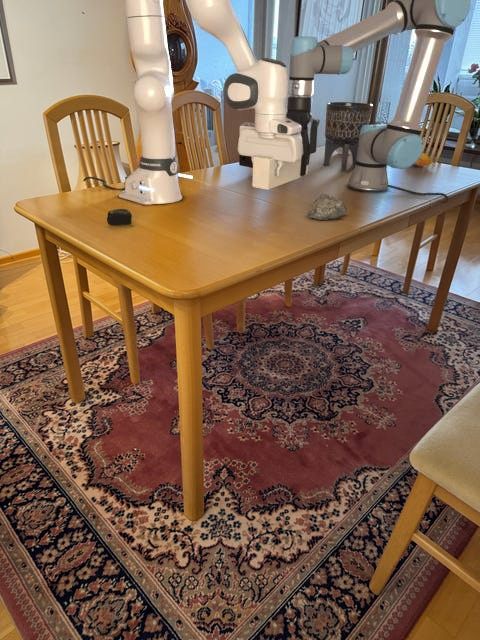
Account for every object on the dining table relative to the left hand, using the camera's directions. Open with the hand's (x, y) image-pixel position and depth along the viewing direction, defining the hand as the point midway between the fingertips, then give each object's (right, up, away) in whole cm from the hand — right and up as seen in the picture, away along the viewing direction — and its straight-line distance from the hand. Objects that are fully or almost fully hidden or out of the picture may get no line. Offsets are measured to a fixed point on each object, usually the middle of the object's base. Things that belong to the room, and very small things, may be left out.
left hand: (267, 174), depth 136 cm
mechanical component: (+9, +20, +61) cm, 64 cm away
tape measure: (-43, -16, -3) cm, 46 cm away
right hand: (+10, +5, +14) cm, 18 cm away
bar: (+5, +1, +8) cm, 9 cm away
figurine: (+47, +44, +104) cm, 122 cm away
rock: (+20, -11, +8) cm, 24 cm away
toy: (+77, +31, +82) cm, 116 cm away
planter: (+39, +27, +75) cm, 88 cm away
